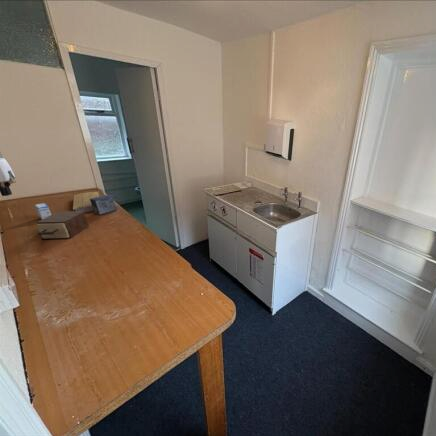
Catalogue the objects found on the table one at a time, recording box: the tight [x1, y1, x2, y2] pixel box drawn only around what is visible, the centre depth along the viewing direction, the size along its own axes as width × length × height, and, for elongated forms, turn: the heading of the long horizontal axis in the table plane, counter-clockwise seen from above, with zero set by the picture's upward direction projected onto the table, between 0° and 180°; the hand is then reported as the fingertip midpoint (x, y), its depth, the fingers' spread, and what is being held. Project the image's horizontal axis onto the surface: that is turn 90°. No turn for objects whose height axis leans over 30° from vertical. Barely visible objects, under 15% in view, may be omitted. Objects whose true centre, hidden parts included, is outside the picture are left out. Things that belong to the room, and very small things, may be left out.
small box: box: [90, 194, 117, 216], centre depth 153 cm, size 11×6×10 cm, turn 154°
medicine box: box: [34, 202, 52, 220], centre depth 140 cm, size 8×4×9 cm, turn 55°
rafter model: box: [72, 191, 100, 213], centre depth 164 cm, size 35×14×6 cm, turn 39°
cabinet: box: [36, 210, 90, 240], centre depth 125 cm, size 15×13×10 cm
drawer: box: [36, 223, 70, 239], centre depth 122 cm, size 18×11×8 cm, turn 9°
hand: (7, 195), depth 111 cm, fingers closed
